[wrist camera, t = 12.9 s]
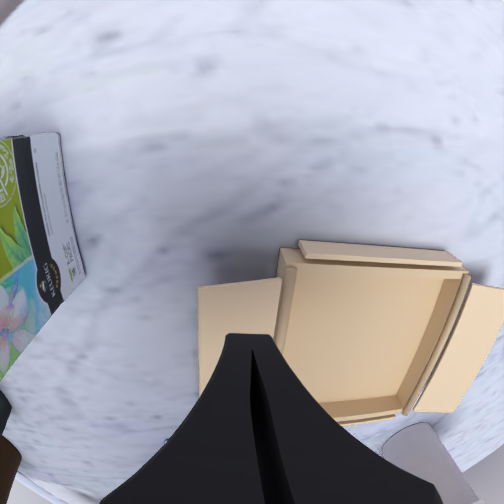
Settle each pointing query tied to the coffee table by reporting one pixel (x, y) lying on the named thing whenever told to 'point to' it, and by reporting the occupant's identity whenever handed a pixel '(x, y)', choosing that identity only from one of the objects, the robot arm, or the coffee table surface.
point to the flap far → (464, 349)
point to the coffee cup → (429, 463)
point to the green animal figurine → (4, 412)
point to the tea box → (33, 240)
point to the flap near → (233, 317)
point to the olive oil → (7, 467)
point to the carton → (365, 323)
